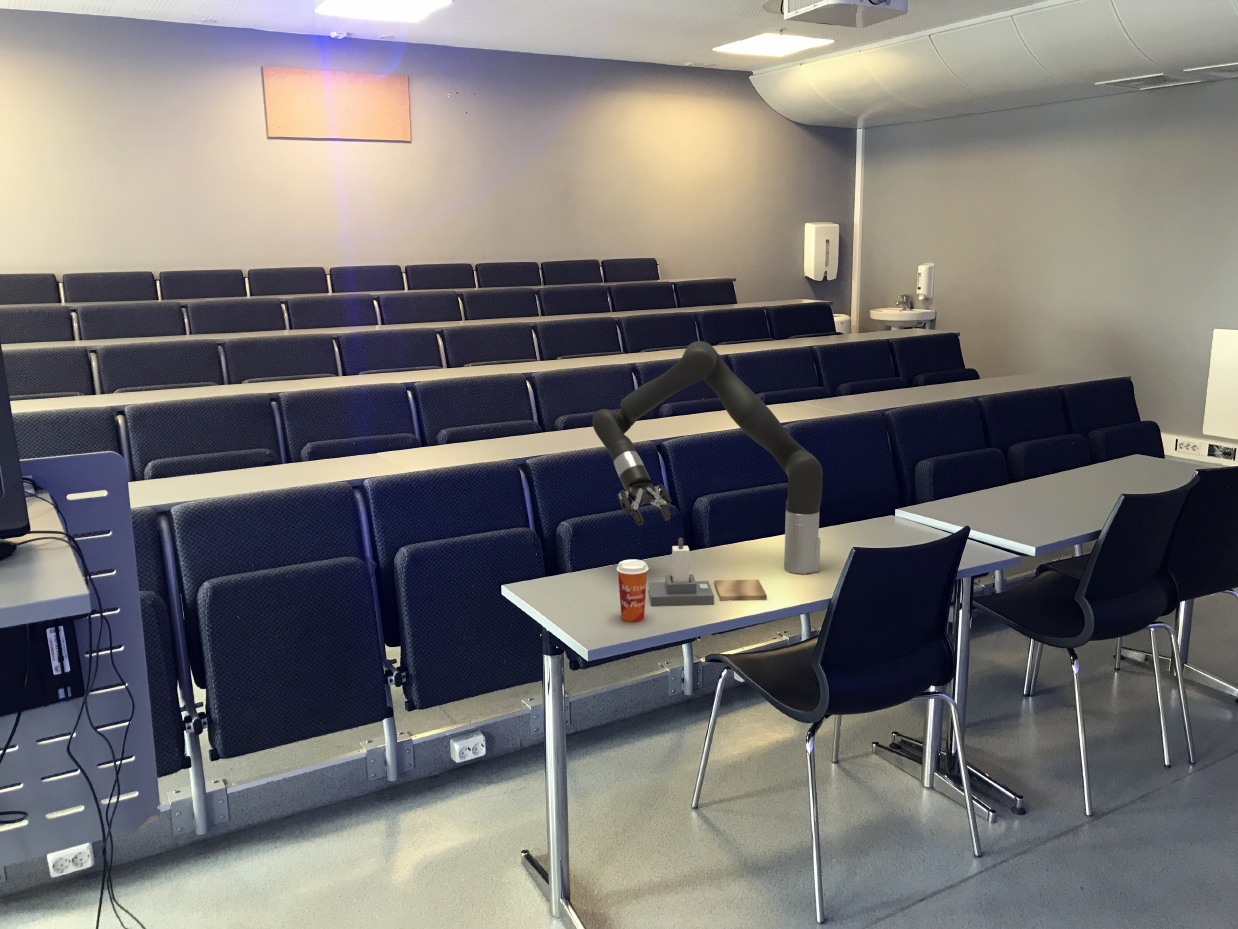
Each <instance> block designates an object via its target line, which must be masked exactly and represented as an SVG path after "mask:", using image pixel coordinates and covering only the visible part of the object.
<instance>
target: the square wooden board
mask: <svg viewBox="0 0 1238 929" xmlns="http://www.w3.org/2000/svg"><path fill="white" fill-rule="evenodd" d="M713 584H714V588H715V591H716V593H717V596H718V598H719V601H720V602H723V601H728V600H732V601H761V600H762V601H767V600H768V596H767V593H766V591H765V589H764V588H763V585H762V584H761V581H760V580H759V578H758V579H721V580H720V579H718V580H715V579H714V580H713Z"/></svg>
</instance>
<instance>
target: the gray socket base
mask: <svg viewBox="0 0 1238 929" xmlns="http://www.w3.org/2000/svg"><path fill="white" fill-rule="evenodd" d="M664 579H665V580H664V581H649V582H648V595H649V600H650V605H651V606H652V607H660V606H661V607H662V606H663V607H664V606H665V607H666V606H702V605H703V606H707V605H711V606H712V605H714V604H715V594H714V592H713V589H712V586H711V584H710V580H696V579H695V576H694V574H693V573H689V582H686V583H672V574H665V575H664ZM651 606H650V607H651Z"/></svg>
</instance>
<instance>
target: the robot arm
mask: <svg viewBox="0 0 1238 929" xmlns="http://www.w3.org/2000/svg"><path fill="white" fill-rule="evenodd" d="M702 380H703V382H705V383H706V384H707V385H708V386H709V387H710V388H711V389H712V390H713V391H714V392H715V394H716V395H717V397H718V398H719V401H720V402H721V404H722V406H723V408H724V409H725V411H726V412H727V414H728V415H729V417H730V418H731V419H732V420H733V422H734V423H735V424H736V425H737V426H738V427H739V428H740V429H741V430H742V431H743V432H744V434H746V435H747V436H748V437H749V438H750V439H752V441H754V442H755V443H757V444H758V445H759V446H760V447H762V448H764V449H765V450H766V451H767V452H768V453H769V454H770V455H771V456H772V457H773V458H774V460H776V462H777V463H778V464H779V465H780V467H781V468H782V469H783V471H784V472H785V474H786V476H787V478H788V483H787V484H788V485H787V498H786V501H785V522H784V523H785V525H784V526H785V527H784V530H785V531H784V555H783V556H784V557H783V558H784V559H783V568H784V570H785V571H786V572H789V573H792V574H797V573H798V574H799V575H806V574H807V573H809V574H813V573H820V561H821V558H820V557H821V556H820V555H821V538H820V537H819V531H820V527H819V526H820V509H821V508H820V506H821V503H822V495H823V479H824V478H823V474H824V473H823V467H822V465H821V463H820V461H819V460H818V459H817V458H816V456H814V455H813V454H812V453H810V452H809V451H807V449H805V447H803V446H802V445H800V443H799V442H797V441H796V440H795V439H794V438H793V437H792V435H790V434H789V433H788V432H787V430H786V429H785V428H784V426H783V424H782V423H781V422H780V421H779V419H778V417H777V416H776V415H775V413H773V411H772V410H771V409H770V408H769V407H768V406H767V405H766V404H765V402H764V401H762V400H761V399H760V397H758V396H757V395H756V394H755V393H754V392H753V390H752V389H750V387H748V385H746V383H744V381H742V380H741V379H740V378H739V377H737V375H736V374H734V372H733V371H732V370H731V369H730V368H729V366H728V365H727V364H726V362H725V361H724V360H723V358H722V357H721V356H720V354H719V353H718V352H717V350H716V349H715V347H713V346H712V345H711V344H710V343H709V342H705V341H702V340H697V341H693V342H691V343H690V344H688V346H687V347H686V349H685V351H684V352H683V354H682V357H681V358H680V359H679V360H678V361H677V362H676V363H675V364H674V365H673V366H672V367H671V368H669V370H667V371H666V372H664V373H662V374H661V375H659V376H658V377H656V378H655V379H654V378H653V379H652V380H650V381H648V382H646V383H644V384H643V385H641V386H639V387H637V388H636V389H635V390H633V391H632V392H631V393H629V394H628V395H626V396H625V397H624V398H623V399H622V400H621V401H620V404H619V406H620V409H619V410H618V411H617V412H614V411H613V410H611V409H606V408H602V409H598V410H597V411H596V412H595V413H594V414H593V417H592V427H593V428H592V429H593V430H594V432H595V434H596V436H597V437H598V438H599V440H600V441H601V443H602V444H603V446H604V447H605V448H606V449H607V451H608V453H609V456H610V458H611V460H612V462H613V465H614V468H615V470H616V473H617V475H618V478H619V479H620V482H621V484H622V486H623V488H624V489H621V490H620V491H619V493H618V495H617V499H618V501H619V504H620V505H621V509H622V511H623V513H624V514H631V515H632V517H633V519H634V521H635V523H636V524H637V525H638V526H643V524H644V523H645V520H644V518H643V515H642V514H641V511H640V509H638V508H639V506H643V505H644V504H645V505H649V504H651V505H652V506H656V507H657V508H659V511H660V512H661V516H662V517H663V519H664V521H666V522H667V521H669V520H670V519H671V517H672V513H671V511H670V509H669V507H668V506H669V505H670V503H672V498H671V496H670V495H669V493H668V491H667V489H666V487H665V486H664V484H663V483H660V484H659V485H656V486H654V485H653V484H652V481H651V477H650V475H649V473H648V471H647V468H646V467H645V465H644V462H643V461H642V459H641V457H640V456H639V454H638V452H637V450H636V449H635V446H634V444H633V442H632V440H631V439H630V438H629V437H628V436H627V435H626V433H627V432H628V431H629V430H630V429H631V427H633V425H635V423H636V422H637V421H638V420H639V419H640V418H642V417H644V415H646V414H647V413H649V412H650V411H652V410H653V409H654V408H656V407H657V406H659V405H660V404H661V403H663V402H665V401H666V400H667V399H668V398H670V397H671V396H673V395H675V394H676V393H678V392H680V391H682V390H684V389H685V388H687V387H689V386H691V385H694V384H696V383H698V382H700V381H702ZM654 498H655V499H654ZM629 499H631V500H632V502H631V504H630V501H629ZM807 575H808V574H807Z"/></svg>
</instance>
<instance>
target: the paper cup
mask: <svg viewBox="0 0 1238 929" xmlns="http://www.w3.org/2000/svg"><path fill="white" fill-rule="evenodd" d="M617 564H618V565H617V567H616V571H617V573H618V575H617V577H618V589H619V590H618V592H619V602H620V605H619V606H620V615H621V620H623V621H625V622H629V623H637V622H640V621H641V622H642V621H643V620H644V619H645V610H646V593H647V575H648V570H649V569H650V568H649V566H648V564H647V563H646V562H645V561H643V560H641V559H635V558H634V559H625V560H622V561H620V562H619V563H617Z"/></svg>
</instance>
